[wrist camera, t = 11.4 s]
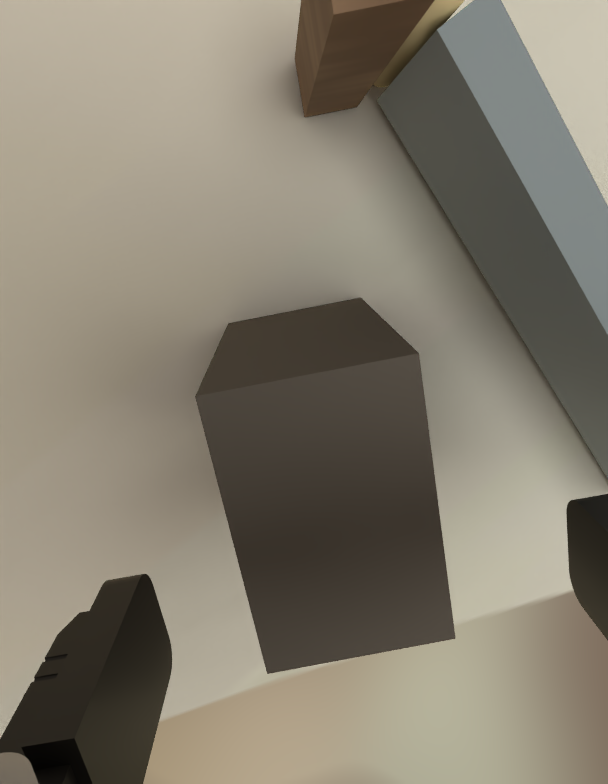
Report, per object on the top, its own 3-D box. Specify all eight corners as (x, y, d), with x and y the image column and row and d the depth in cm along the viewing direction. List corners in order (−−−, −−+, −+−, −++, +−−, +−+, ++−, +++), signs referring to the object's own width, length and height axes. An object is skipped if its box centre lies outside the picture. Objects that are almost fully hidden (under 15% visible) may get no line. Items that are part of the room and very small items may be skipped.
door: (355, 65, 16) (404, -30, 10) (434, 3, 16) (536, -136, 10) (620, 500, 21) (766, 620, 15) (686, 459, 20) (865, 565, 14)
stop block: (270, 506, 21) (267, 673, 13) (228, 323, 19) (195, 396, 11) (389, 484, 21) (455, 638, 13) (361, 297, 19) (418, 353, 11)
